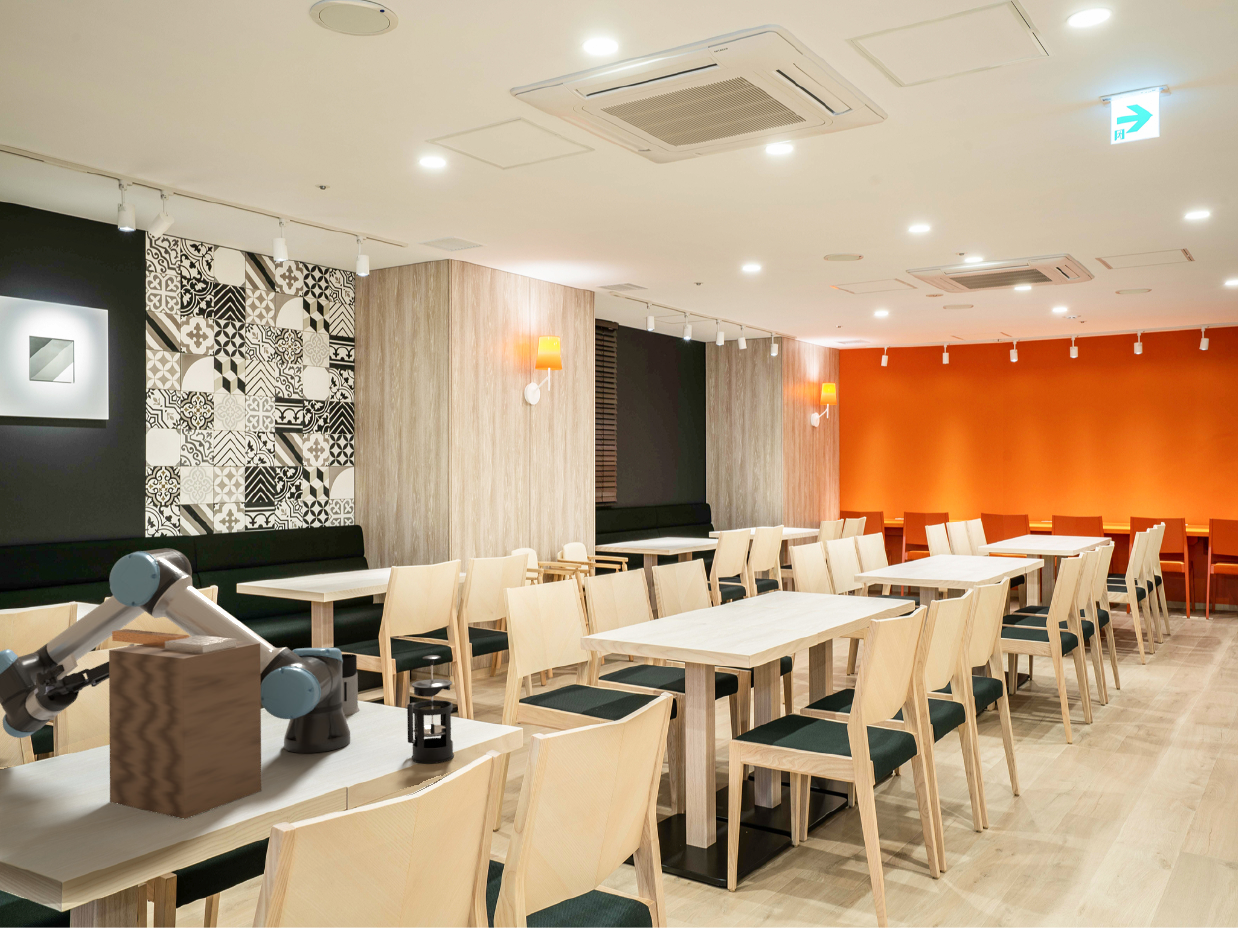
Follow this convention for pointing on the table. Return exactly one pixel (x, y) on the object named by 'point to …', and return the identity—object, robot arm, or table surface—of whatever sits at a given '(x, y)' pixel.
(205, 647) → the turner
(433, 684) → the french press
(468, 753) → the table surface
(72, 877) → the table surface
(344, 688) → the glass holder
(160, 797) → the walnut stand
